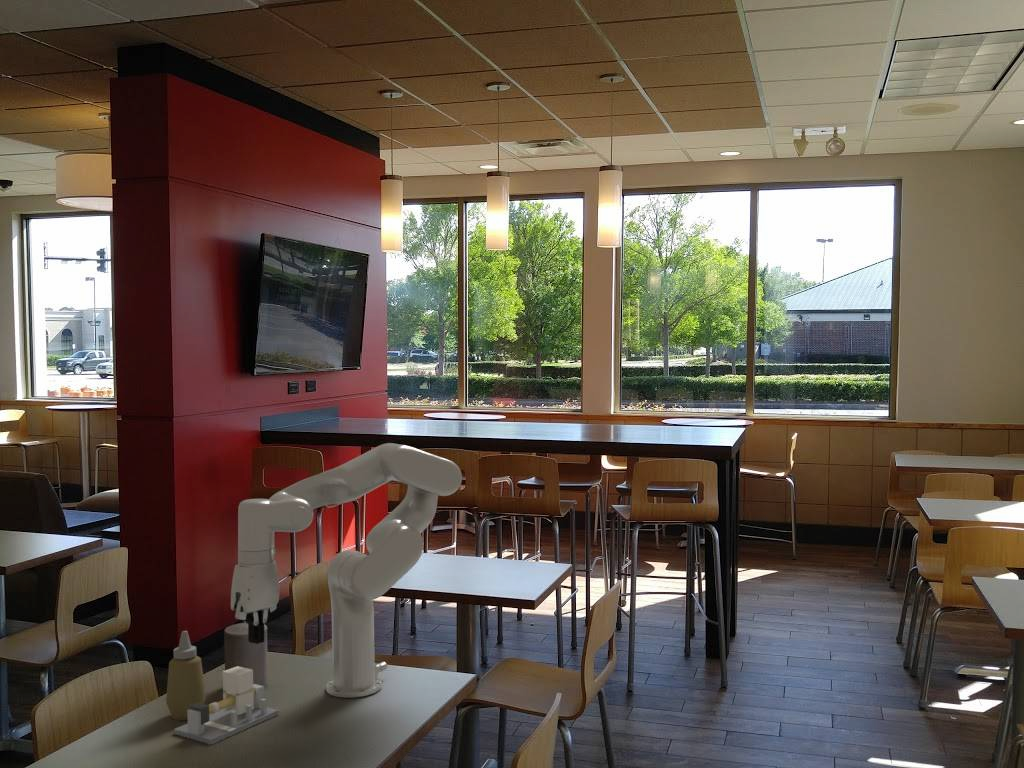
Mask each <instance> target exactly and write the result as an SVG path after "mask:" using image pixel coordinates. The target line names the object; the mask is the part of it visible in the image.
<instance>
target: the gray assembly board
mask: <svg viewBox="0 0 1024 768" xmlns="http://www.w3.org/2000/svg"><path fill="white" fill-rule="evenodd" d="M253 696H254V709H252V705H246V712H245V713H243V714H240V715H237V712H236V708H234V709H232V710H229V711H227V712H226V711H223V708H226V707H228V706H231V705H233V704H235V703H236V696H235V695H234V696H232V697H229V698H227V699H224V700H223V699H222V700H220V701H214V702H211V703H209V704H205V703H204V704H201V703H197V704H194V705H191V706H190V709H189V710H187V716H188V719H187V723H185V724H183V725H181V726H178V727H176V728H174V729H173V734H174V735H176V734H177V735H176V736H179V735H180V737H182V736H183V738H186V737H187V738H186V739H189V738H191V739H190V740H193V739H194V740H193V741H196V740H197V741H196V742H199V741H200V742H199V743H203V742H204V744H206V743H207V745H209V746H212V745H215V744H217V743H219V742H220V740H221V741H222V740H225V739H227V737H228V738H230V737H232V736H234V735H236V733H237V734H238V732H239V733H241V732H243V731H246V730H248V729H250V728H252V727H254V726H253V725H255V726H257V725H258V723H259V724H261V723H263V722H262V721H264V722H266V721H268V720H270V719H273V718H274V717H273V716H275V717H277V716H279V715H278V714H279V713H280V711H279V709H276V708H271V707H269V706H268V705H267V703H268V702H267V698H265V688H264V686H261V685H257V684H253ZM276 715H277V716H276ZM272 717H273V718H272ZM269 718H270V719H269ZM267 719H268V720H267ZM265 720H266V721H265ZM260 722H261V723H260ZM256 724H257V725H256ZM251 726H252V727H251ZM249 727H250V728H249ZM247 728H248V729H247ZM245 729H246V730H245ZM229 736H230V737H229ZM211 744H212V745H211Z"/></svg>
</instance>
